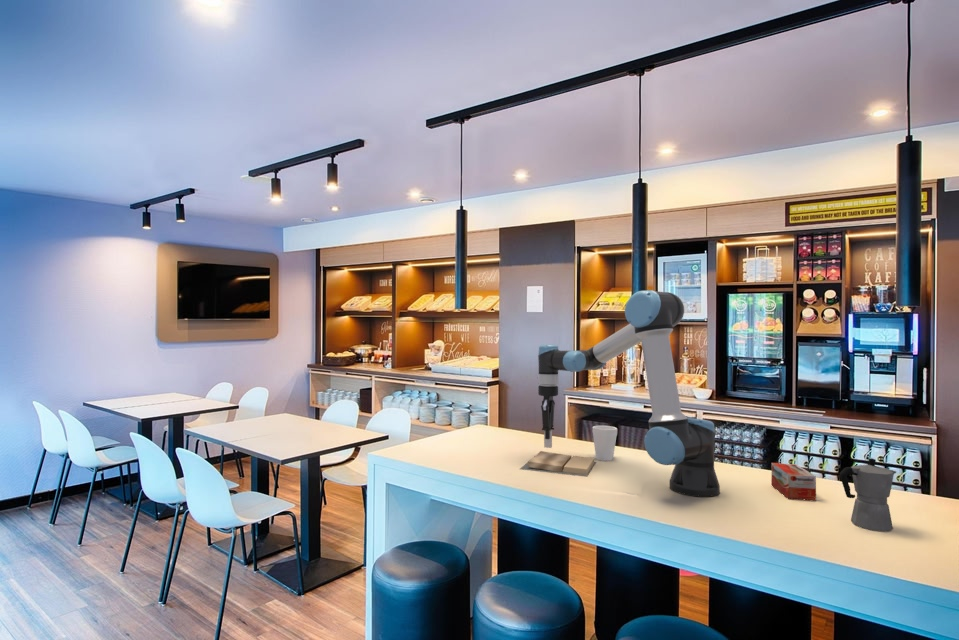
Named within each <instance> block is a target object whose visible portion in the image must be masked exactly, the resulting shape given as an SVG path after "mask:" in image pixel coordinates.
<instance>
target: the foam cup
mask: <svg viewBox="0 0 959 640" xmlns="http://www.w3.org/2000/svg"><path fill="white" fill-rule="evenodd" d="M592 436H593V437H592V438H593V445H594V454H595V455H594V456H595V459H596V460H599V461H605V462H609V461H613V460H614V457H615V456H614V455H615V448H616V447H615V446H616V440H617V436H618V428H617V427H615V426H612V425H611V426H610V425H594V426H592Z"/></svg>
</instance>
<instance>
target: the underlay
mask: <svg viewBox="0 0 959 640" xmlns="http://www.w3.org/2000/svg"><path fill="white" fill-rule="evenodd" d="M595 459H596V457H591V456H581V455H572V456H571V459H570V460H569V461H568V463H567V464H566V465H565V466H564V469H563V471H562V472H557V471H550V470H544V469H538V468H531V467H528V465H529V461H530V460H531V459H529V460H528V461H527V462H526V463H525V464H523V466H522V467H520V468H519V470H524V471H530V472H540V473H551V474H559V475H569V476H576V477H577V476H578V477H589V476H590V474H591V472H592V470H593V469H594V466H596V464H597V462H596V461H595Z"/></svg>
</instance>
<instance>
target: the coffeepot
mask: <svg viewBox="0 0 959 640" xmlns="http://www.w3.org/2000/svg"><path fill="white" fill-rule="evenodd" d="M867 459H868V464H858V465H853V466H847V467H844V468H843V469H842V470H841V471H840V473H839V477H840V480H841V484H842V487H843V489H844V493H845V496H846V498H849V499H854V498H855V497H856V498H855V500H854V504H853V509H852V514H851V518H850V522H851V523H852V524H853V525H854V526H856V527H858V528H861V529H865V530H867V531H873V532H881V533H884V532H886V533H887V532H890V531H893V530H894V526H893V522H892V520H893V519H892V517H891V516H892V515H891V510H890V505H889V504H888V498H890V497H891V491H892V485H893V481H894V475H895V474H896V473H897V471H896V470H893V469H889V468H885V467H882V466H878V465H876V461H877V460H876V458H873V457H871V458H867ZM848 475H852V481H853V485H854V491H855V492H856V495H855V494H852V493H851V487H850V485H849V479H848Z"/></svg>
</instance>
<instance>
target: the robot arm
mask: <svg viewBox="0 0 959 640" xmlns="http://www.w3.org/2000/svg"><path fill="white" fill-rule="evenodd" d="M684 314H685V306H684V303H683V301H682V299H681V298H680V297H679V296H677V295H676V294H674V293H672V292H668V291H658V290H657V291H656V290H651V289H647V290H638V291H637V292H635V293H633V294H632V295H631V296H630V297H629V298H628V300H627V302H626V304H625V308H624V315H625V316H624V317H625V319H626V321H627V322H628V324H627V325H626V326H624V327H622V328H620V329H619V330H617V331H616V332H614V333H613V334H611V335H610V336H608V337H606V338H605V339H603V340H601V341H599V342H598V343H597V344H595V345H594V346H592V347H591V348H589V349H587V350H586V349H584V350H583V349H582V350H559V346H558V344H557V345H556V344H541V345H539V347H538V355H537V357H538V359H537V360H538V361H537V362H538V375H537V376H536V378H537V379H538V384H539V385H538V387H537V388H538V389H537V390H538V391H537V392H538V395H539V396H541V397H543V399H542V401H541V406H540V408H541V418H542V419H541V421H542V429H541V430H542V431H543V435H544V436H543V448H547V449H548V448H550V449H552V447H553V430H555V427H554V420H555V419H554V418H555V405H556V402H555V400H554V397H557V396H558V395H559V386H558V385H559V371H561V372H562V371H563V372H570V373H573V372H576V373H577V372H581V371H597V370H601V369H603V368H604V367H605V366H606V364H607V363H608V362H609V361H611V360H613V359H614V358H616V357H618V356H620V355H621V354H623V353H624V352H626V351H628V350H630V349H632V348H633V347H635V346H637V345H638V344H641V348H642V355H643V361H644V367H645V374H646V375H645V376H646V381H647V387H648V394H649V399H650V406H651V407H650V408H651V412H652V413H651V414H652V415H651V417H650V418H649V420H648V428H649V429H648V430H647V432H646V434H645V436H644V441H643V443H644V448H645V451H646V452H647V454H648V456H649V457H650V458H651V459H652V460H653V461H654V462H656V463H658V464H660V465H663V466H674V468H673V470H672V473H671V475H670V477H669V478H670V479H669V489H670V490H672V491H674V492H675V493H679V494H681V495H686V496H693V497H702V498H703V497H705V498H708V497H715V496H718V495H720V493H721V492H720V491H721V489H720V488H721V487H720V483H719V480H718V476H717V473H716V470H715V443H716V441H715V438H716V437H715V436H716V432H715V423H714V422H713V421H711V420H707V419H701V418H694V417H687V416H686V415H685V414H683V412H682V409H681V407H682V406H681V401H680V395H679V388H678V384H677V378H676V372H675V365H674V360H673V354H672V353H673V352H672V346H671V345H672V344H671V340H670V336H671V333H672V332H673V331H674V329H673V328H674V327H675V326H677V325H678V324H679V323H680V322H681V321H682V320H683V317H684Z"/></svg>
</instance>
